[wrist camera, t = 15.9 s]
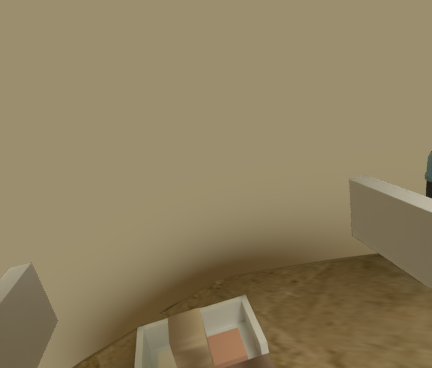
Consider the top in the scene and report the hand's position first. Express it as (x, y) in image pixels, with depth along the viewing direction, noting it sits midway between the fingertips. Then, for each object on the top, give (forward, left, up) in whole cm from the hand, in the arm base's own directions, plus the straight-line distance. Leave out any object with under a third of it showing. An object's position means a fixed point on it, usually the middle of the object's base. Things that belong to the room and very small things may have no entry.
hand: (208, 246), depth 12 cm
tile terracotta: (-1, -22, -31) cm, 38 cm away
